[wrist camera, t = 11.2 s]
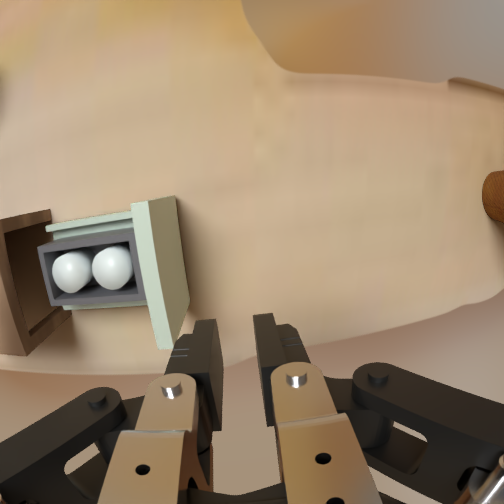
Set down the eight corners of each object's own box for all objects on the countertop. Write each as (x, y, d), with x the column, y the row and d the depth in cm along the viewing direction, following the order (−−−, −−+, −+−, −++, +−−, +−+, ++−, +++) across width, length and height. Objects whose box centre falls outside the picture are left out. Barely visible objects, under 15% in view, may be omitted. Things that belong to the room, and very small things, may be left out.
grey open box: (71, 290, 28) (50, 306, 24) (60, 237, 27) (37, 246, 23) (158, 283, 29) (146, 300, 24) (149, 224, 27) (134, 232, 23)
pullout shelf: (74, 309, 30) (31, 348, 20) (55, 215, 27) (-1, 229, 18) (190, 301, 30) (174, 348, 21) (174, 195, 28) (147, 201, 19)
